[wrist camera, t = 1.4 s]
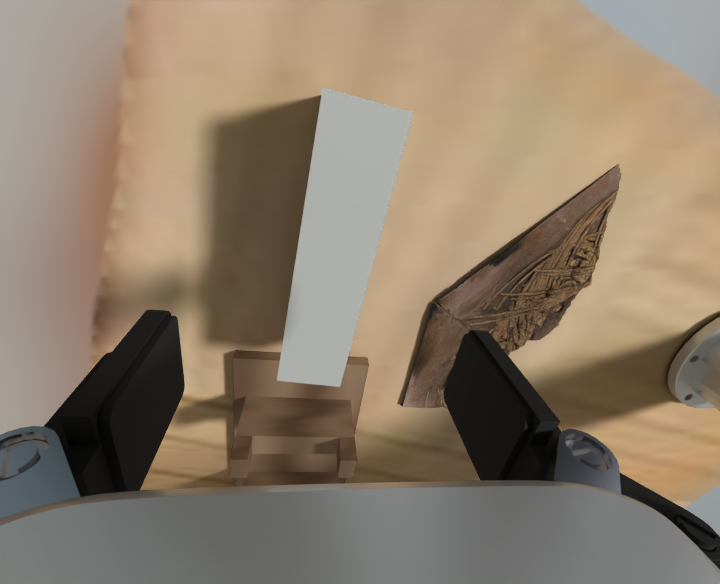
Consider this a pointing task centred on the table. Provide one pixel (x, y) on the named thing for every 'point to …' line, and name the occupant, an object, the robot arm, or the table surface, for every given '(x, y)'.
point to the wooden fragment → (516, 290)
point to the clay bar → (339, 232)
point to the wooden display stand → (293, 424)
